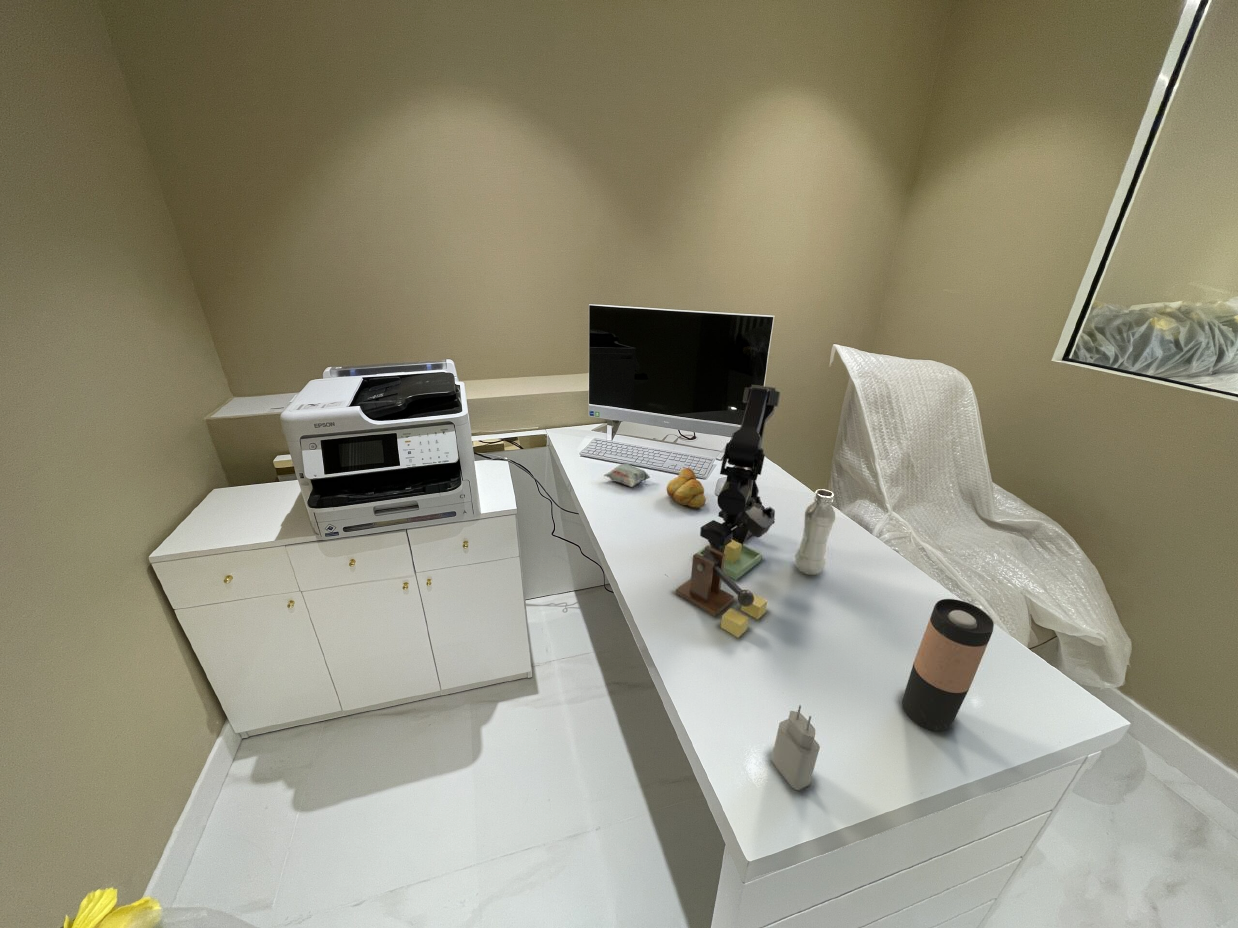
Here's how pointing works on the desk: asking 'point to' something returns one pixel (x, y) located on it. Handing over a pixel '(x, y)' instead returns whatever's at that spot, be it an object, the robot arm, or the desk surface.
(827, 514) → the plastic bottle
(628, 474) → the packaged food
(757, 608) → the butter
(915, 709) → the travel mug
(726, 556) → the block
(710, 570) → the brown lever stand
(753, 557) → the tray
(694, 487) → the bread roll
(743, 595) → the ball knob lever
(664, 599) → the desk surface
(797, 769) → the power adapter
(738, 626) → the butter
